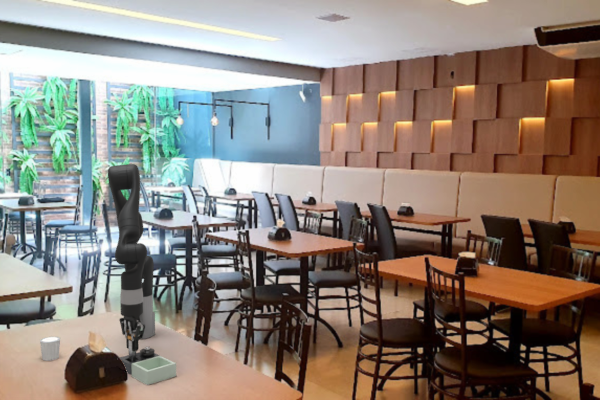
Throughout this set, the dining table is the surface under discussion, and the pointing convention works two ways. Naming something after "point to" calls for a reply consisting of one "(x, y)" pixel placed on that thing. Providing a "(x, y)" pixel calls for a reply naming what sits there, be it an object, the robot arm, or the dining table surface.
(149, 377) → the parts tray
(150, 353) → the dark grey holder block
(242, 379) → the dining table surface
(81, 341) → the dining table surface
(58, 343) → the white ribbed cylinder
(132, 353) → the lock pin
